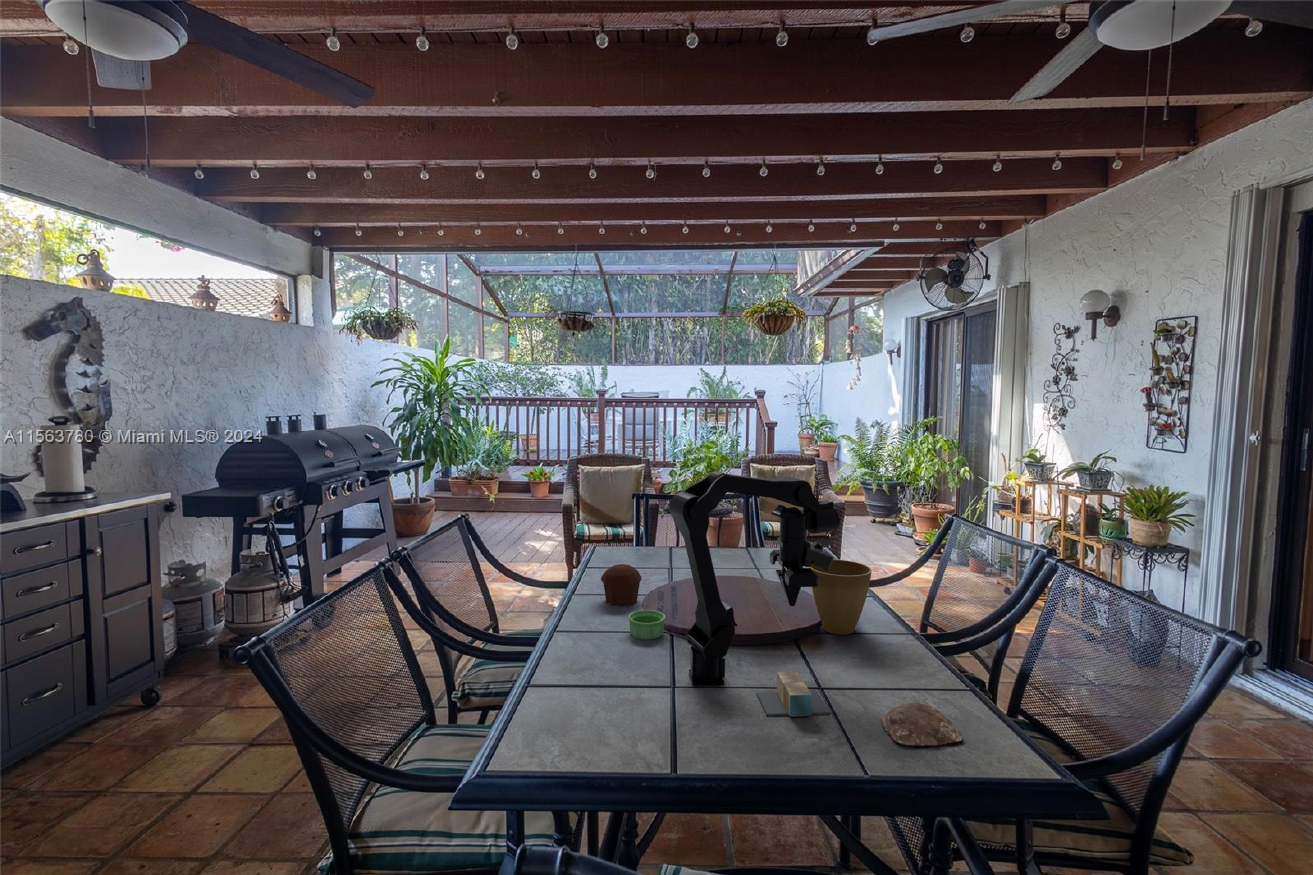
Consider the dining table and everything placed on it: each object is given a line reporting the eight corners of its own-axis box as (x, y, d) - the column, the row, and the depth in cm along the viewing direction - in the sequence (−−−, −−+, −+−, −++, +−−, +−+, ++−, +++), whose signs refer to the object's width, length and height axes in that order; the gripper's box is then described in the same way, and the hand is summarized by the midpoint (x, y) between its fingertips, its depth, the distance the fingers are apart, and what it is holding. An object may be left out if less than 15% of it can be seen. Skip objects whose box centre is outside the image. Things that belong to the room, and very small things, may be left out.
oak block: (790, 695, 111) (777, 672, 120) (789, 716, 112) (776, 692, 121) (812, 694, 112) (797, 672, 121) (811, 715, 112) (796, 691, 121)
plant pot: (881, 632, 151) (884, 569, 150) (842, 646, 143) (844, 579, 142) (833, 613, 164) (835, 555, 162) (794, 625, 155) (796, 564, 154)
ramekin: (664, 641, 145) (665, 623, 145) (627, 640, 146) (627, 623, 145) (665, 626, 154) (665, 609, 154) (629, 626, 154) (629, 609, 154)
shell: (869, 714, 114) (870, 696, 114) (934, 712, 115) (935, 693, 115) (898, 751, 103) (899, 730, 102) (970, 748, 104) (971, 728, 103)
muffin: (624, 591, 180) (625, 558, 180) (649, 601, 172) (650, 566, 171) (592, 600, 172) (592, 565, 172) (616, 611, 164) (617, 574, 163)
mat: (766, 716, 113) (766, 714, 112) (756, 694, 120) (756, 692, 120) (830, 714, 113) (830, 712, 113) (816, 692, 121) (816, 690, 121)
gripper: (844, 546, 123) (842, 621, 125) (817, 525, 142) (815, 590, 143) (790, 547, 123) (788, 622, 124) (769, 525, 142) (768, 591, 143)
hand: (791, 605), depth 134 cm, fingers closed
